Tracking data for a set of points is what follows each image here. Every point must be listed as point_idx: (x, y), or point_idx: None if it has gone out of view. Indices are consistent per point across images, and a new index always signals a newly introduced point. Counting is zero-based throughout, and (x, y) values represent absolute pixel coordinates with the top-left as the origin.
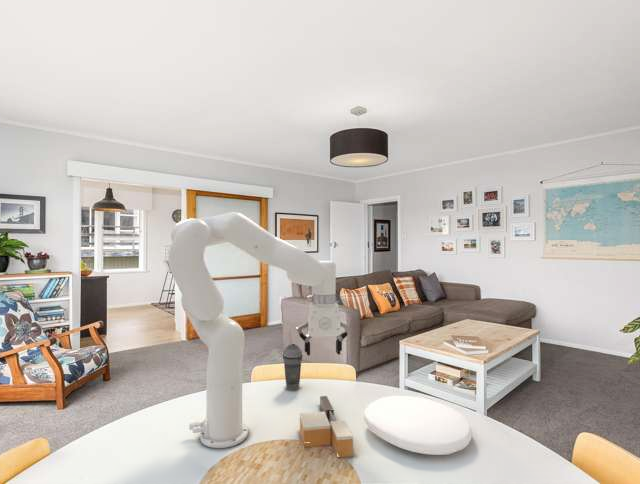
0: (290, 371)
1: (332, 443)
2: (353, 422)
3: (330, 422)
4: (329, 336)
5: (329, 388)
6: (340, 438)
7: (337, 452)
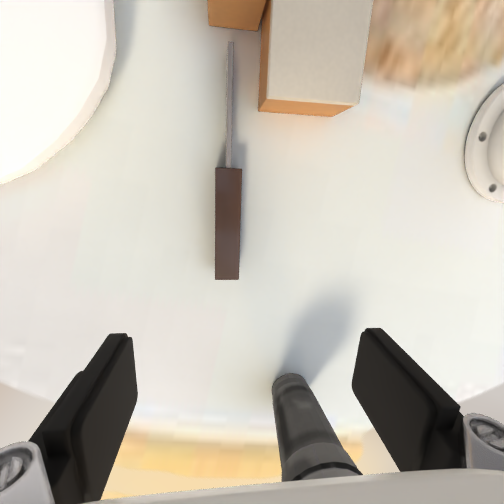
0: (320, 419)
1: None
2: (154, 136)
3: None
4: (204, 492)
5: (182, 376)
6: None
7: None
